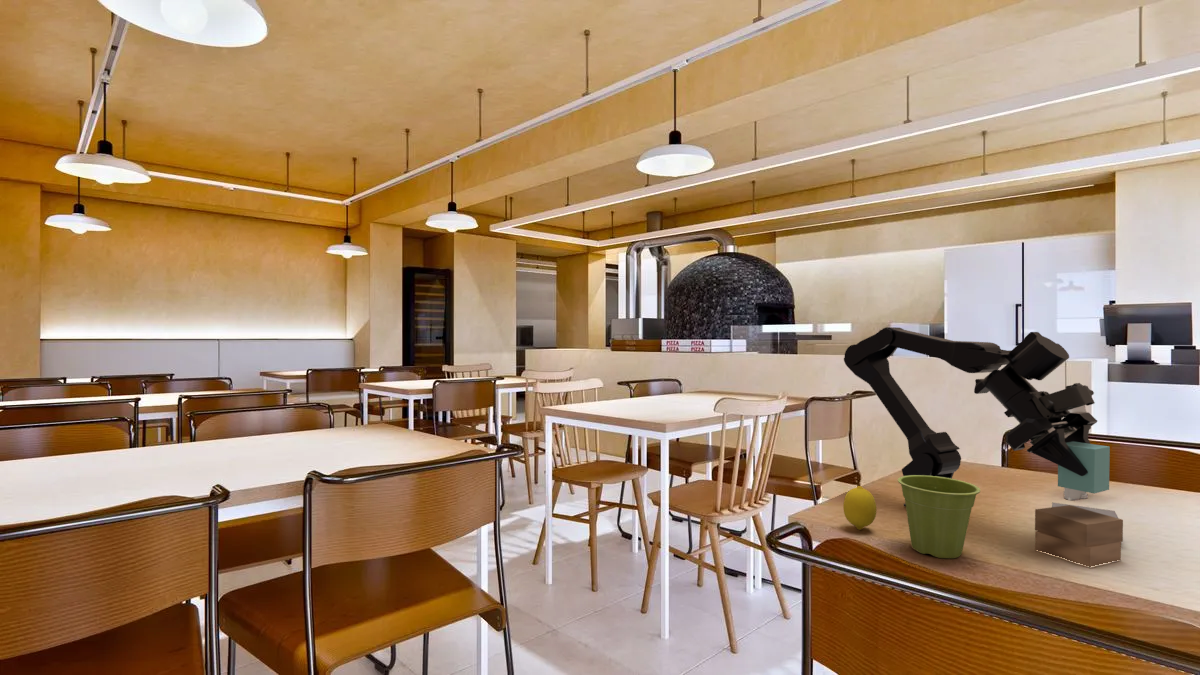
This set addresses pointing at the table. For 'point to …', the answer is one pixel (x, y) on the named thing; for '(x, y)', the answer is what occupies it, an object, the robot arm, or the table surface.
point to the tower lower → (1077, 550)
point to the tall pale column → (1071, 493)
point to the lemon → (859, 507)
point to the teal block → (1087, 468)
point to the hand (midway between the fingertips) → (1093, 472)
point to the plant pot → (938, 513)
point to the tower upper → (1079, 525)
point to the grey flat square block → (1091, 509)
